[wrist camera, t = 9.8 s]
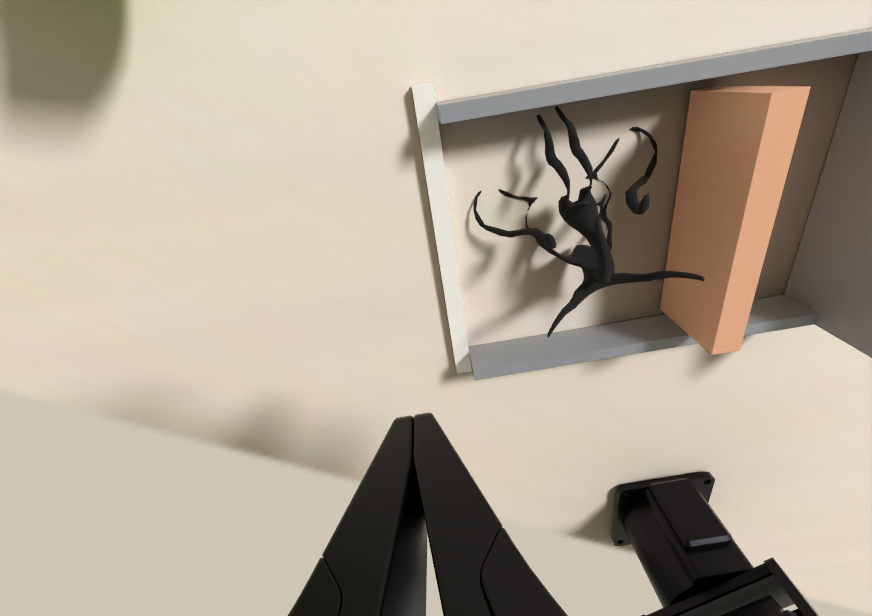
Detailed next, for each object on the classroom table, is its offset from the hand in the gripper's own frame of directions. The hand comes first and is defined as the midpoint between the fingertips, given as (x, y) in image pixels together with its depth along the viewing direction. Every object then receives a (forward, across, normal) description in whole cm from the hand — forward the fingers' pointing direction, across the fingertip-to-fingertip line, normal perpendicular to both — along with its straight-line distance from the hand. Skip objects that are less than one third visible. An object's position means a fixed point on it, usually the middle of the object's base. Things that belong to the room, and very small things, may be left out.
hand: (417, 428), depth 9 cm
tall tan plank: (+11, -13, 0) cm, 17 cm away
